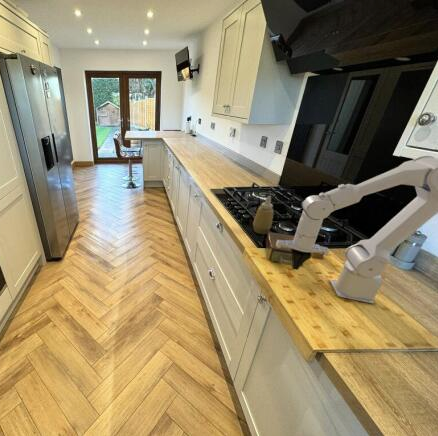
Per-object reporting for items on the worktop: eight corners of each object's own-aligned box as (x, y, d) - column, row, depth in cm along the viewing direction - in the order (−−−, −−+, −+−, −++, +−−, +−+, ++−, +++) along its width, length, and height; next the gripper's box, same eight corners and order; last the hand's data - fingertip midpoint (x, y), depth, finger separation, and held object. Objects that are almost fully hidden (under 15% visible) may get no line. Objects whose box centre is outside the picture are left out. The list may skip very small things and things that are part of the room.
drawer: (304, 272, 85) (307, 264, 83) (272, 266, 88) (275, 258, 86) (294, 248, 99) (297, 240, 97) (267, 243, 102) (269, 236, 100)
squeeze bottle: (270, 230, 115) (280, 195, 107) (268, 237, 108) (278, 201, 100) (253, 226, 118) (261, 192, 110) (249, 232, 112) (258, 197, 104)
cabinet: (301, 266, 89) (306, 253, 87) (268, 260, 93) (272, 248, 90) (294, 247, 101) (298, 236, 99) (265, 242, 104) (268, 231, 102)
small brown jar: (318, 252, 98) (321, 244, 97) (322, 258, 94) (325, 251, 92) (308, 250, 99) (311, 243, 98) (312, 257, 95) (315, 249, 93)
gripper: (329, 231, 75) (315, 265, 81) (279, 224, 80) (269, 257, 86) (337, 242, 69) (321, 278, 75) (282, 233, 74) (272, 268, 80)
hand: (294, 267), depth 80 cm, fingers closed
